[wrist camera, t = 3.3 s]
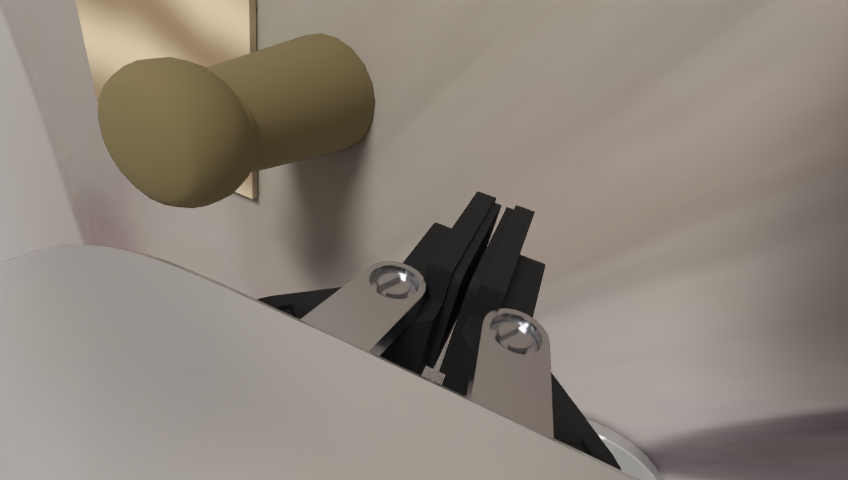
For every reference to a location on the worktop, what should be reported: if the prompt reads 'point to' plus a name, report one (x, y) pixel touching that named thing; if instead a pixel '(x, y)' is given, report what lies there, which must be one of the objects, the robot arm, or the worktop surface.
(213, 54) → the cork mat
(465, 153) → the worktop surface
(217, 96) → the pepper shaker
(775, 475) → the worktop surface
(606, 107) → the worktop surface
